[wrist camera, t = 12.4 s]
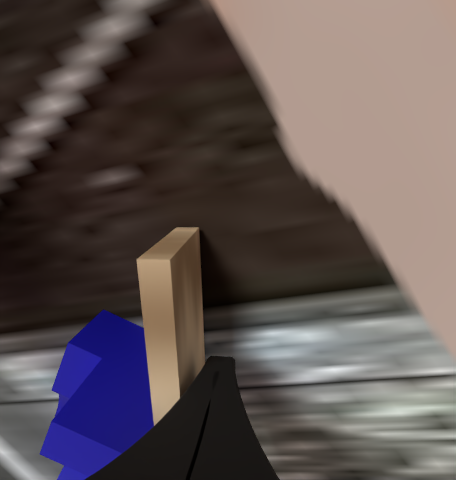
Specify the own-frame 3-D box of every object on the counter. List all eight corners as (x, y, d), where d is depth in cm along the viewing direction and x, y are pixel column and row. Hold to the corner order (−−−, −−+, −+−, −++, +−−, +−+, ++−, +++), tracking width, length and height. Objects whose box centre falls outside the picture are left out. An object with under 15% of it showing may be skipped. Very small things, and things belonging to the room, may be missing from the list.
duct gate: (211, 499, 17) (195, 613, 12) (194, 497, 17) (173, 610, 13) (199, 227, 13) (169, 259, 8) (176, 227, 13) (136, 259, 9)
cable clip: (105, 307, 15) (6, 400, 9) (186, 345, 15) (140, 462, 9) (45, 464, 18) (-56, 608, 12) (112, 494, 18) (44, 651, 12)
